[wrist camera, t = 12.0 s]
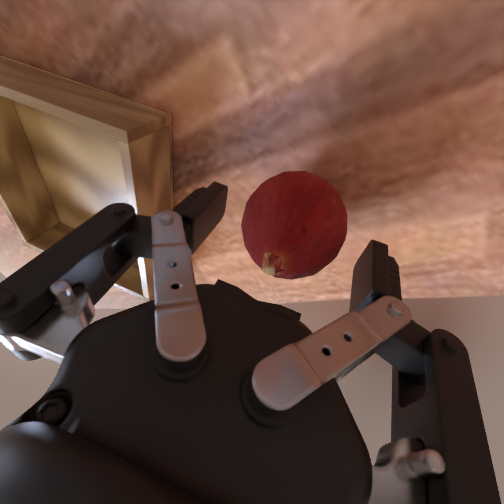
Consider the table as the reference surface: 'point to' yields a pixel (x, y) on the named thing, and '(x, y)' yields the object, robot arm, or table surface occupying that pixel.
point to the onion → (294, 225)
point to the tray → (79, 159)
